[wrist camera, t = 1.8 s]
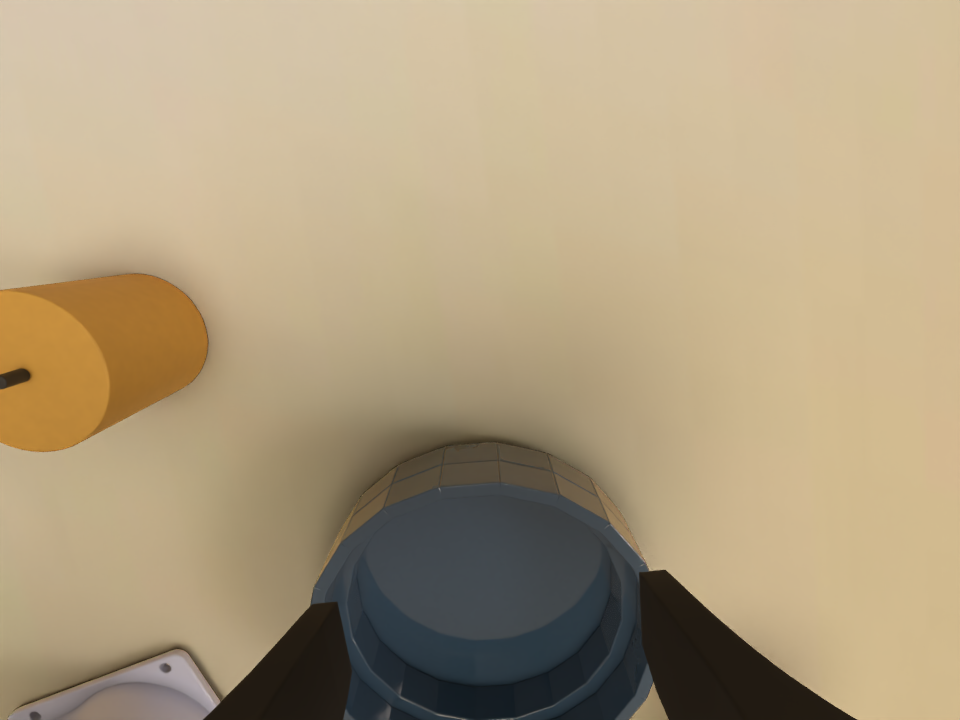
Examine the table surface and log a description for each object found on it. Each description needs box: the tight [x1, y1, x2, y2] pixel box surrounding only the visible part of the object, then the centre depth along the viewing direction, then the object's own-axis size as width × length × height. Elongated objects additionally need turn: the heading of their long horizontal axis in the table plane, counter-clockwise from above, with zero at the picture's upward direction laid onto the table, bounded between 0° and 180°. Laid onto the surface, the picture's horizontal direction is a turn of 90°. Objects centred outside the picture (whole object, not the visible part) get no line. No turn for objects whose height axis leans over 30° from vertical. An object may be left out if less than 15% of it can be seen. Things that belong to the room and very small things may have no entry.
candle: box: [0, 274, 208, 452], centre depth 17 cm, size 5×5×6 cm
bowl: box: [310, 442, 653, 720], centre depth 21 cm, size 13×13×4 cm
